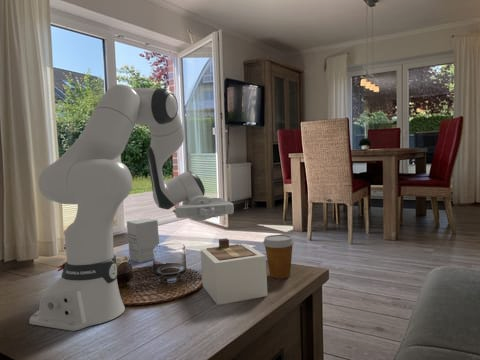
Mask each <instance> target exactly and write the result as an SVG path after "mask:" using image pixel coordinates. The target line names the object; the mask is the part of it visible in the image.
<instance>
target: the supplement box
mask: <svg viewBox="0 0 480 360" xmlns="http://www.w3.org/2000/svg"><path fill="white" fill-rule="evenodd" d="M158 224H159V223H158V219H152V218H150V217H145V218H139V219H134V220H127V221H126V227H127V228H126V229H127V241H128V242H127V243H128V254H129V255H128V256H129V260H132V261H134V262H137V263H139V264H140V263H144V262H149V261H152V260H154V259H153V249H154V247H155V246H156V245H158V244H159V245H160V238H159V237H160V235H159V225H158Z"/></svg>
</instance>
